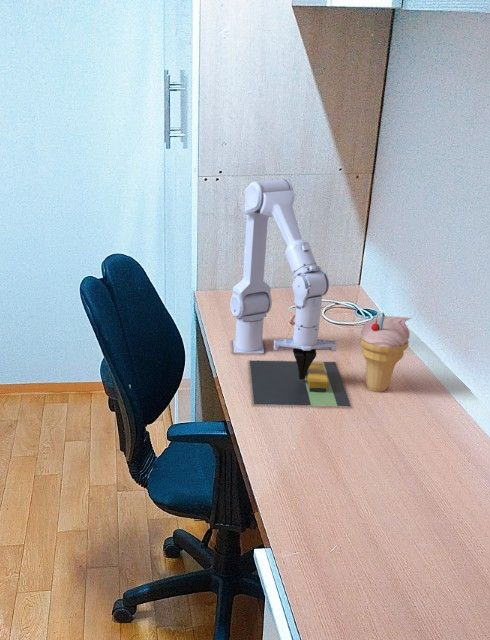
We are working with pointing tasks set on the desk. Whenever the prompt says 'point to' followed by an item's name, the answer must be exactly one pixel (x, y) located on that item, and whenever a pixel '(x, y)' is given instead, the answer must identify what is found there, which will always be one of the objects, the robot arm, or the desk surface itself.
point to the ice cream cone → (383, 349)
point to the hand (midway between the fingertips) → (301, 377)
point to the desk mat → (294, 385)
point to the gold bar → (317, 377)
